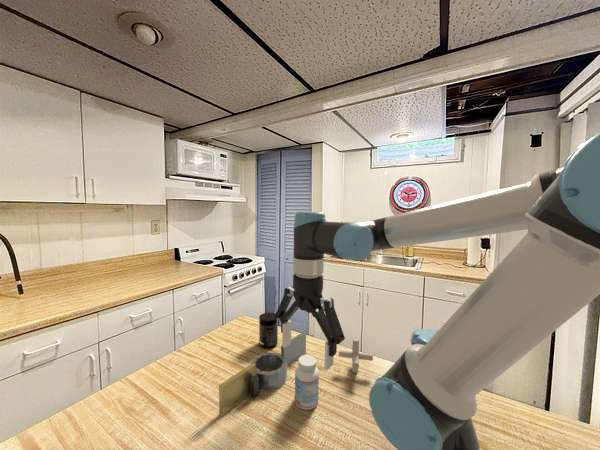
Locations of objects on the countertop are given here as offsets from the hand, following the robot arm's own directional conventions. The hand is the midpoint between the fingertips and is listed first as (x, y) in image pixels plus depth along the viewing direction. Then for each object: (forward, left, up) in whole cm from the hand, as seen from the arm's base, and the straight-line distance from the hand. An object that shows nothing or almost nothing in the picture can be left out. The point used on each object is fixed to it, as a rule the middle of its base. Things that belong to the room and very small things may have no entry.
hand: (306, 355), depth 63 cm
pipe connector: (-4, -19, -12) cm, 23 cm away
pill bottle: (0, 0, -13) cm, 13 cm away
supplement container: (+27, -12, -13) cm, 32 cm away
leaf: (+13, +11, -12) cm, 21 cm away
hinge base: (+14, -4, -12) cm, 19 cm away
